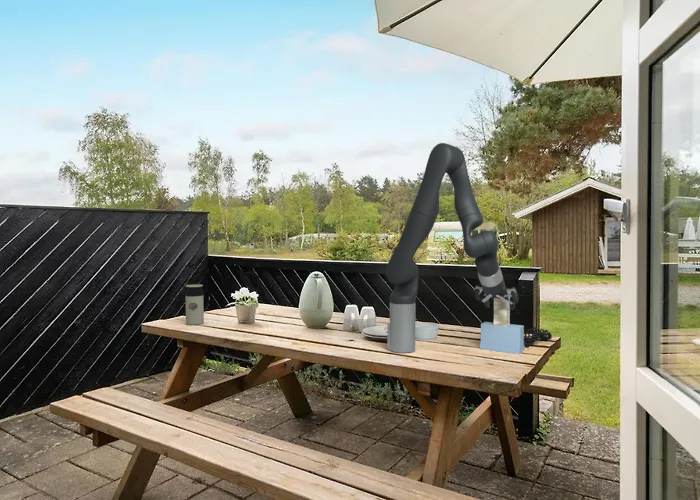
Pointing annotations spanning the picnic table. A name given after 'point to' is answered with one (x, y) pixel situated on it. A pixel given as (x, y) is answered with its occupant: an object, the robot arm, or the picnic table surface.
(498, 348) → the light blue rectangular block
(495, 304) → the birch post
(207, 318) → the picnic table surface
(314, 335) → the picnic table surface
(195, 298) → the travel mug
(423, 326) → the ramekin
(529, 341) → the decorative element
